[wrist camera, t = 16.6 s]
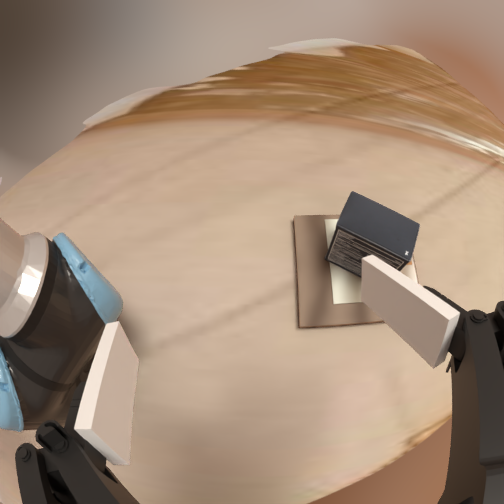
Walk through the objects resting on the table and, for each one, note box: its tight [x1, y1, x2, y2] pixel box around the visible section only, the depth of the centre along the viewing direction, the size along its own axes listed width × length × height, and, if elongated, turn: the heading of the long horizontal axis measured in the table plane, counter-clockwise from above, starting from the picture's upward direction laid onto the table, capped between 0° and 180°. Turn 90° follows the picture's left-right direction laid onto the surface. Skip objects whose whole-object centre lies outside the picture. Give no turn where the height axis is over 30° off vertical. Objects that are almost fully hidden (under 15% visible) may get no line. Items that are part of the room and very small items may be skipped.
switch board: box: [294, 215, 419, 328], centre depth 41 cm, size 20×18×2 cm
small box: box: [324, 191, 420, 278], centre depth 36 cm, size 11×6×10 cm, turn 60°
